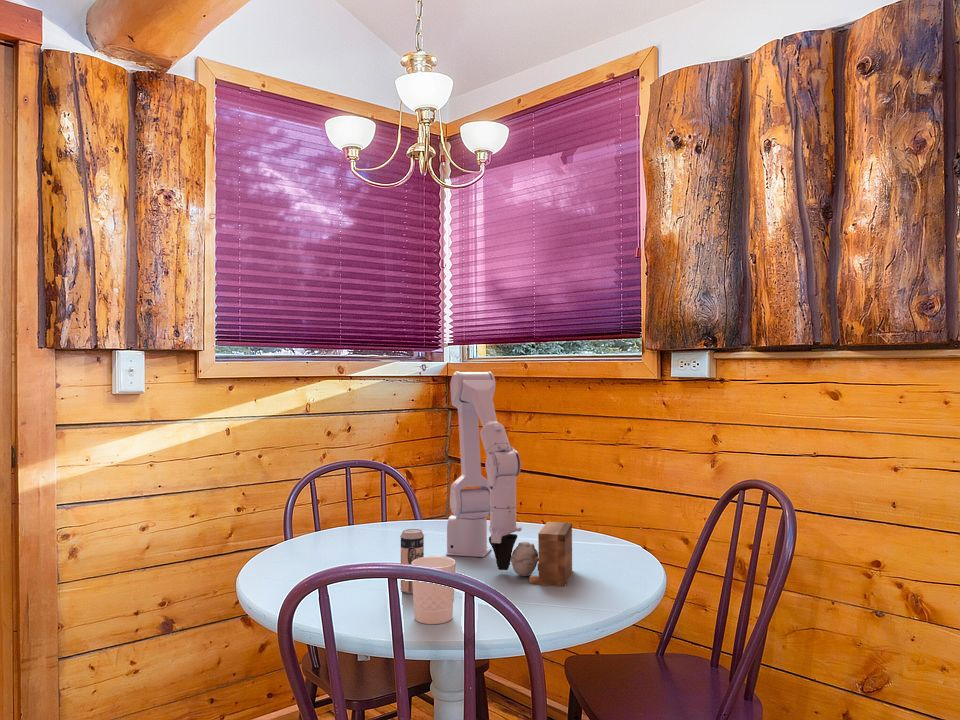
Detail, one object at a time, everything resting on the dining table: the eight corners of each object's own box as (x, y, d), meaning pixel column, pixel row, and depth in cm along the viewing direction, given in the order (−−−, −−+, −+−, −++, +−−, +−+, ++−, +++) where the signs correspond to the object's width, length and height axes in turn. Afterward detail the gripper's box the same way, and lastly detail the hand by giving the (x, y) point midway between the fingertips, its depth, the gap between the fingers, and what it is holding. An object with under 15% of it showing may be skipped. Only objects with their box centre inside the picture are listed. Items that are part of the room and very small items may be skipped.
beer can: (414, 596, 139) (414, 534, 140) (395, 592, 142) (395, 532, 142) (429, 589, 143) (428, 530, 144) (410, 586, 146) (410, 527, 146)
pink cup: (403, 622, 125) (403, 565, 125) (423, 608, 132) (423, 554, 132) (445, 628, 122) (444, 569, 122) (462, 613, 129) (462, 558, 129)
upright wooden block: (529, 584, 147) (528, 533, 147) (538, 568, 159) (538, 521, 159) (565, 586, 145) (565, 534, 145) (572, 570, 157) (571, 522, 157)
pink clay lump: (543, 573, 155) (543, 541, 155) (531, 581, 149) (531, 548, 149) (518, 569, 158) (518, 538, 158) (504, 577, 151) (504, 544, 152)
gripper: (514, 513, 147) (514, 579, 146) (527, 501, 161) (527, 561, 160) (481, 512, 148) (481, 577, 148) (496, 500, 162) (497, 559, 162)
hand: (503, 569), depth 154 cm, fingers closed, pressing on pink clay lump
